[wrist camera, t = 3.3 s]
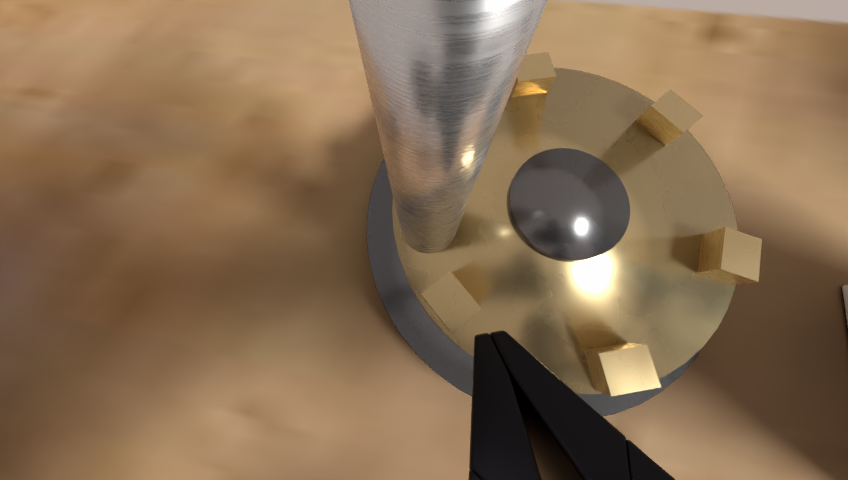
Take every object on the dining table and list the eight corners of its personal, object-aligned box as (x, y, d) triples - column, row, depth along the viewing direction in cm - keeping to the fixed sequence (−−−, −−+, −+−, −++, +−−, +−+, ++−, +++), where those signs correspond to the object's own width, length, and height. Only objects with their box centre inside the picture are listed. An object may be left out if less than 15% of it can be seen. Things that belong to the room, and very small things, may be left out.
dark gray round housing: (555, 504, 13) (577, 533, 11) (304, 226, 17) (290, 214, 15) (759, 235, 17) (801, 224, 15) (517, 49, 20) (527, 22, 18)
